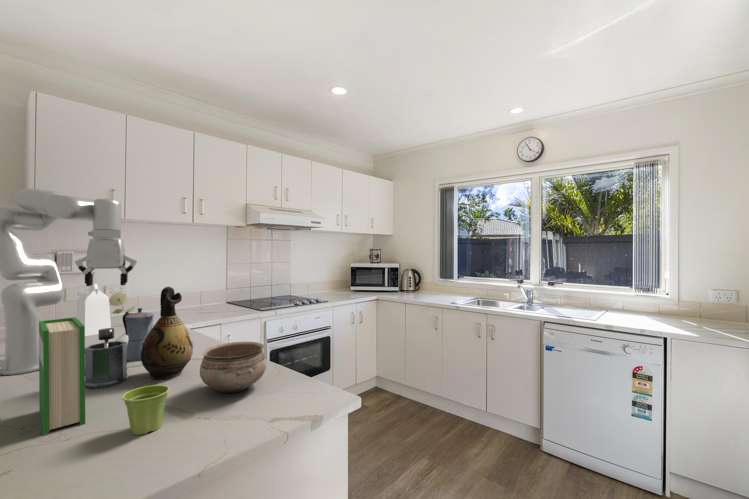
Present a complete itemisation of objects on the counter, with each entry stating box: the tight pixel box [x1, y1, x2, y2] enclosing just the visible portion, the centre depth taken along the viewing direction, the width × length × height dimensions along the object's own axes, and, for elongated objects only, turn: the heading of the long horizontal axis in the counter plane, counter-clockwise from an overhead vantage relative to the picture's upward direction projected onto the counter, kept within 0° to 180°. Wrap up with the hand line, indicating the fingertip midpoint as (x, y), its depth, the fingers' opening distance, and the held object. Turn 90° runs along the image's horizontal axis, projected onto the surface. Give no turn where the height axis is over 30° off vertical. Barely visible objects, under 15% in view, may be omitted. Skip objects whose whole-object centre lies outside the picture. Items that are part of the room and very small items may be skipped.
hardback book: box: [38, 316, 86, 436], centre depth 89 cm, size 18×7×24 cm, turn 46°
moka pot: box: [122, 307, 155, 362], centre depth 140 cm, size 10×15×20 cm, turn 78°
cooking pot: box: [199, 341, 268, 394], centre depth 107 cm, size 25×19×12 cm
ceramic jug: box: [140, 286, 194, 381], centre depth 121 cm, size 17×15×30 cm
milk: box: [76, 283, 112, 337], centre depth 186 cm, size 12×12×26 cm
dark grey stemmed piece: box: [98, 327, 115, 348], centre depth 114 cm, size 7×7×14 cm
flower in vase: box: [109, 290, 135, 344], centre depth 160 cm, size 13×11×25 cm
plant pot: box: [121, 384, 170, 435], centre depth 83 cm, size 9×9×9 cm
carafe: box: [85, 340, 128, 390], centre depth 113 cm, size 14×11×12 cm
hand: (106, 285), depth 120 cm, fingers open, 9 cm apart
